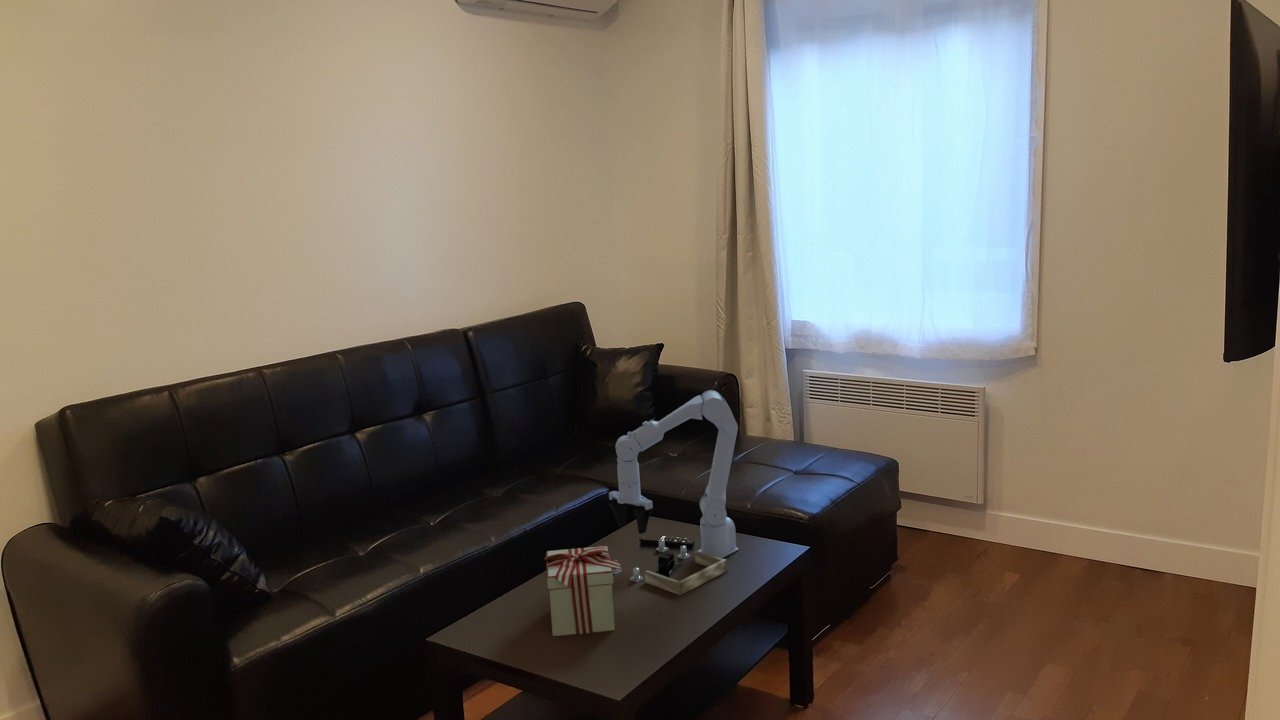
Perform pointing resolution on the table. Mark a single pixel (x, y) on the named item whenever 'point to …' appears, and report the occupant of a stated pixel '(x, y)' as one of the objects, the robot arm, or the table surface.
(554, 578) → the gift box
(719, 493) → the robot arm
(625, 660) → the table surface
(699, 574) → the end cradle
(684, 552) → the guide pins
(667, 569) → the black boxy piece
